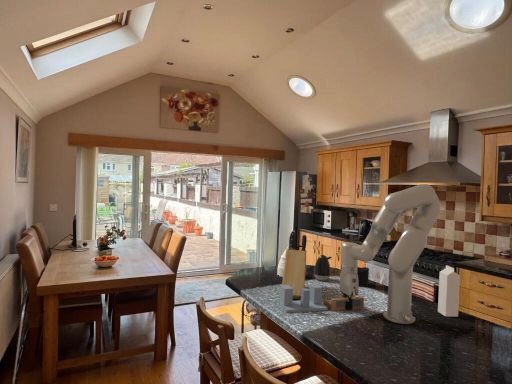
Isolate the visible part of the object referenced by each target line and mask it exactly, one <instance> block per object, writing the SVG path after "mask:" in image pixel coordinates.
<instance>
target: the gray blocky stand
mask: <svg viewBox="0 0 512 384" xmlns="http://www.w3.org/2000/svg"><path fill="white" fill-rule="evenodd" d="M279 294H280V295H279V301H278V305H279V306H280V307H281V309H282V310H284V311H285V313H286V314H287V313H288V314H289V313H301V312H302V313H304V312H321V311H328V309H329V307H327V306H326V305H325V304H324V302H323V286H321V285H320V284H318V283H309V285H308V288H304V289H301V300H299V299H297V300H294V299H293V288H292V287H290V286H289V285H282V284H281V285H280V292H279Z"/></svg>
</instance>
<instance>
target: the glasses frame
mask: <svg viewBox="0 0 512 384" xmlns="http://www.w3.org/2000/svg"><path fill="white" fill-rule="evenodd" d="M346 301H347V298H342V297H335V298H334V297H333V298H330V301H329V300H328V299H323V304H324V305H325V306H326V307H328V309H330V310H331V312H333V311H336V312H337V311H345V310H346V309H345V307H346ZM364 308H365V297H363V296H357V297H356V299H354V300H353V302H352V310H363V309H364ZM346 311H347V310H346Z"/></svg>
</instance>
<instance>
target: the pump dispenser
mask: <svg viewBox="0 0 512 384" xmlns="http://www.w3.org/2000/svg"><path fill="white" fill-rule="evenodd" d="M331 259H332V256H328V257H327V255H325V254H321V255H319V256H318V257H317V260H316V261H315V263H314V268H313V269H314V270H313V275H314V278H315V279H316V280H317V281H321V282H325V281H328V280H329V279H330V276H331V275H332V270H331V264H330V261H329V260H331Z"/></svg>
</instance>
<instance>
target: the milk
mask: <svg viewBox="0 0 512 384" xmlns="http://www.w3.org/2000/svg"><path fill="white" fill-rule="evenodd" d="M438 277H439V279H438V302H437V303H438V304H437V313H439V314H441V315H443V316H444V317H451V318H452V317H454V318H455V317H457V318H458V317H459V305H460V288H461V287H460V286H461V285H460V284H461V282H460V281H461V275H460V274H458V273H457V272H456V271H455V267H452V266H450V265H445V268H443V269H441V271H439V276H438Z"/></svg>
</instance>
